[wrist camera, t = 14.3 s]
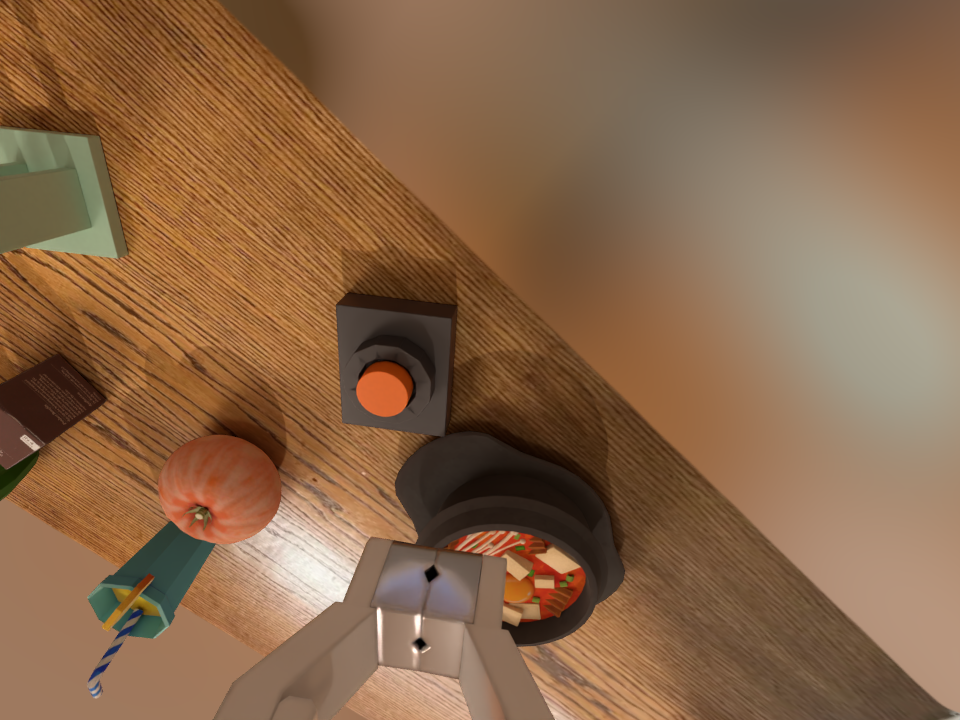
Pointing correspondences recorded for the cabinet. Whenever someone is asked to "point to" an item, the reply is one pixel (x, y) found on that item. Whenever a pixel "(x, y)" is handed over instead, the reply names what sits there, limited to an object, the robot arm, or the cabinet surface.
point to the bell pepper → (15, 474)
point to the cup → (147, 590)
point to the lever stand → (57, 194)
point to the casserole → (516, 528)
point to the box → (42, 407)
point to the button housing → (398, 358)
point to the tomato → (219, 489)
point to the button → (384, 388)
